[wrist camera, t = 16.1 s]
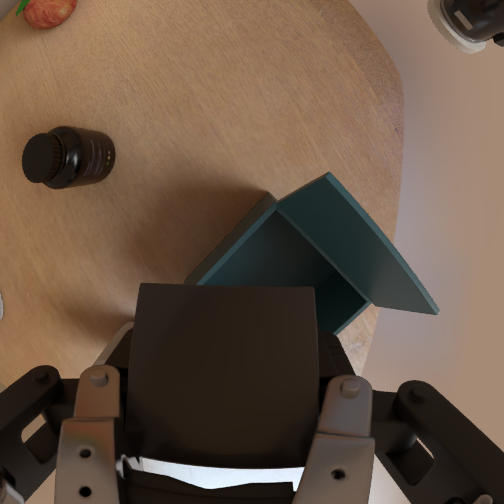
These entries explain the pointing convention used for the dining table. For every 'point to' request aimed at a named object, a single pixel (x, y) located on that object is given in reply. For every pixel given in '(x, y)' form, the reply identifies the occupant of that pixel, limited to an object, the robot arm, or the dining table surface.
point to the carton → (282, 264)
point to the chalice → (1, 307)
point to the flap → (356, 245)
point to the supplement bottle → (68, 157)
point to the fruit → (46, 12)
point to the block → (223, 376)
